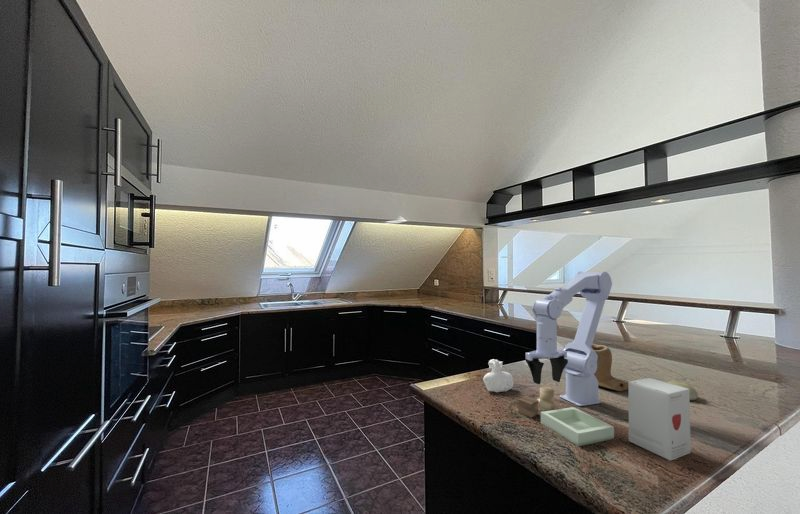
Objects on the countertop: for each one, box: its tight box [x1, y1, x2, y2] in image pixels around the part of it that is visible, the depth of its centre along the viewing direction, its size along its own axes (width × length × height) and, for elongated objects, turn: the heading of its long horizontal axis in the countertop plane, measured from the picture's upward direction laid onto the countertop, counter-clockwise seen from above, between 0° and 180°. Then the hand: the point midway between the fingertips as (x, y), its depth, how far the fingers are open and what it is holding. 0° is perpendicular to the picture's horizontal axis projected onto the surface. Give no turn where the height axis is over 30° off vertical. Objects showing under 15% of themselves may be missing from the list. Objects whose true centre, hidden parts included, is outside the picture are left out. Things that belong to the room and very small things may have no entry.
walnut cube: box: [517, 395, 539, 419], centre depth 91 cm, size 4×4×4 cm
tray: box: [540, 406, 615, 447], centre depth 82 cm, size 12×12×3 cm
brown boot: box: [591, 344, 629, 392], centre depth 116 cm, size 15×12×15 cm
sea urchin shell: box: [665, 380, 699, 401], centre depth 107 cm, size 9×8×8 cm
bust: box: [483, 358, 514, 393], centre depth 111 cm, size 12×8×11 cm
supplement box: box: [627, 377, 692, 461], centre depth 75 cm, size 9×9×15 cm
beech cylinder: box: [539, 386, 555, 412], centre depth 95 cm, size 4×4×6 cm
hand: (546, 382), depth 95 cm, fingers open, 7 cm apart
